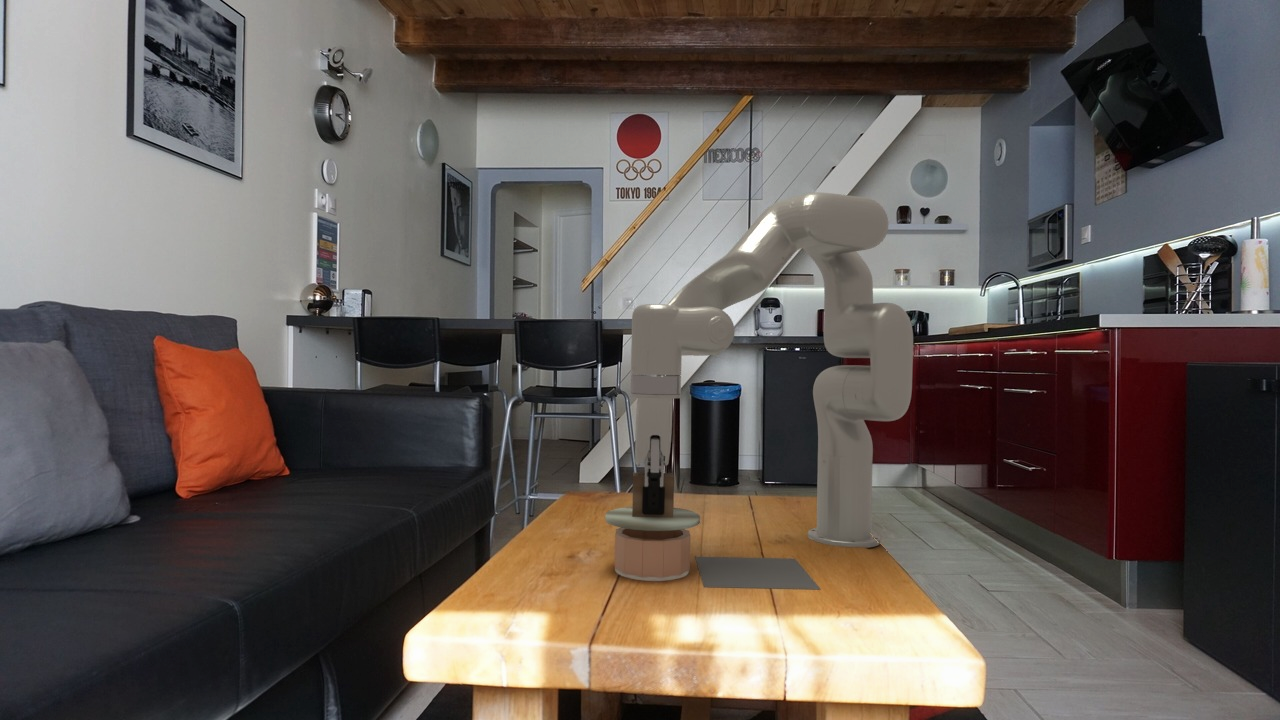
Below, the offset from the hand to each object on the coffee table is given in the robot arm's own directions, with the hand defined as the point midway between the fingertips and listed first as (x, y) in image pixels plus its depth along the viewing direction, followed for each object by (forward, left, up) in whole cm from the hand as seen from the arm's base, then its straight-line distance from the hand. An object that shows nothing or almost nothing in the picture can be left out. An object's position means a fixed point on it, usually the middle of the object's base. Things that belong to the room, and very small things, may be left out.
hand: (652, 510), depth 105 cm
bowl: (0, 0, -9) cm, 9 cm away
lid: (0, 0, -1) cm, 1 cm away
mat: (0, +15, -9) cm, 18 cm away
